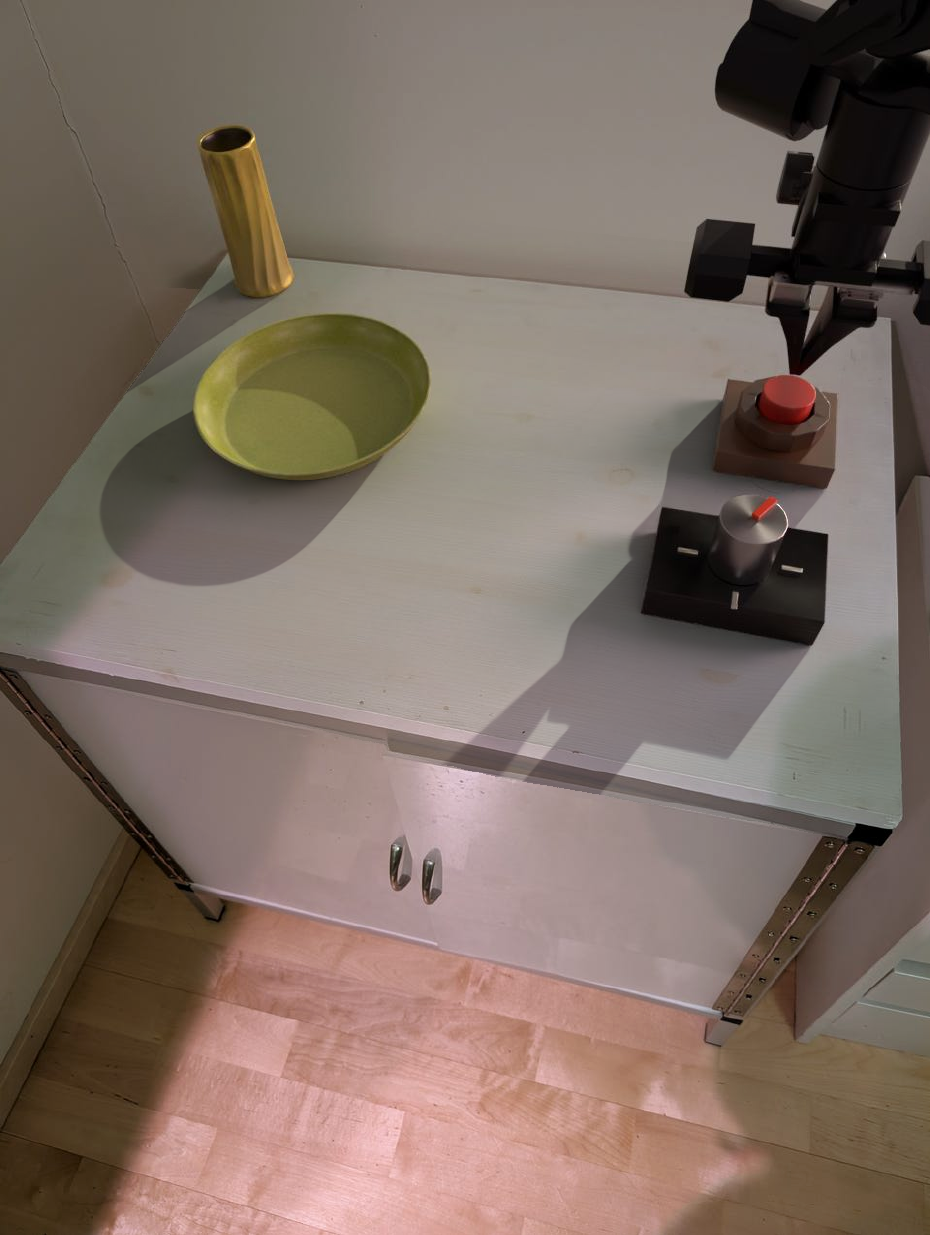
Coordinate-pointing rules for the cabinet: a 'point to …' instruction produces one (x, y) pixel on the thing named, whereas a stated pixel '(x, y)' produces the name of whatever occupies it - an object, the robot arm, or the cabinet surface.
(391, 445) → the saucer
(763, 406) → the button
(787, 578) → the panel
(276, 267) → the vase
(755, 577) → the knob
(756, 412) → the button block
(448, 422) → the cabinet surface
